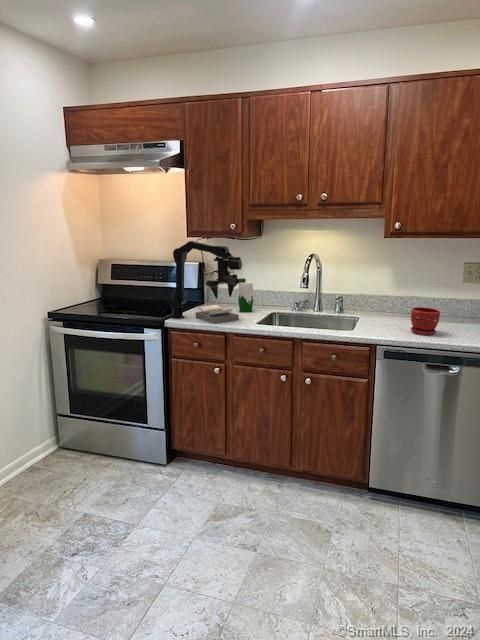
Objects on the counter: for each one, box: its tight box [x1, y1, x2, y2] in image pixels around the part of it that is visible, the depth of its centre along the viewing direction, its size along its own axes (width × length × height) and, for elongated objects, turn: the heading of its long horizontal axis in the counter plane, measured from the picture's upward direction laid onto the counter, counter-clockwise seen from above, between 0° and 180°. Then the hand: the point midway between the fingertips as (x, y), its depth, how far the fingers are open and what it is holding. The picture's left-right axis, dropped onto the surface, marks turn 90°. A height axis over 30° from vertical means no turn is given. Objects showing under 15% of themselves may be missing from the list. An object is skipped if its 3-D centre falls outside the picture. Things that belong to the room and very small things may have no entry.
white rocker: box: [198, 304, 224, 313], centre depth 268 cm, size 6×12×2 cm, turn 127°
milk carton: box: [237, 277, 254, 313], centre depth 283 cm, size 9×9×20 cm
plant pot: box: [410, 306, 441, 336], centre depth 229 cm, size 13×13×12 cm
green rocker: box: [209, 308, 234, 315], centre depth 260 cm, size 6×12×2 cm, turn 126°
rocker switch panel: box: [195, 311, 240, 325], centre depth 264 cm, size 20×16×3 cm
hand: (223, 297), depth 257 cm, fingers open, 9 cm apart
